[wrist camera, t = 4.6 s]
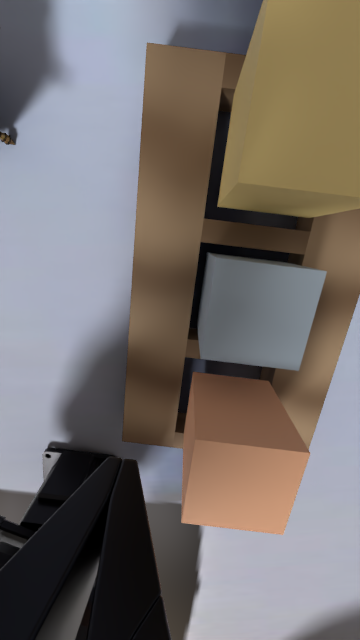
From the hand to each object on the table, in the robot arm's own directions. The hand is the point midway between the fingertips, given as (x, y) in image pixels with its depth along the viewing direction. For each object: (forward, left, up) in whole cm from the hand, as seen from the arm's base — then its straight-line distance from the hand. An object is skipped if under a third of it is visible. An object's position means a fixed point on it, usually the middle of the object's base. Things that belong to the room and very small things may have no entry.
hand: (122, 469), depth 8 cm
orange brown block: (-4, -5, -9) cm, 11 cm away
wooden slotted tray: (+4, -5, -12) cm, 14 cm away
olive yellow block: (+11, -5, -9) cm, 15 cm away
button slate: (+4, -5, -12) cm, 13 cm away
